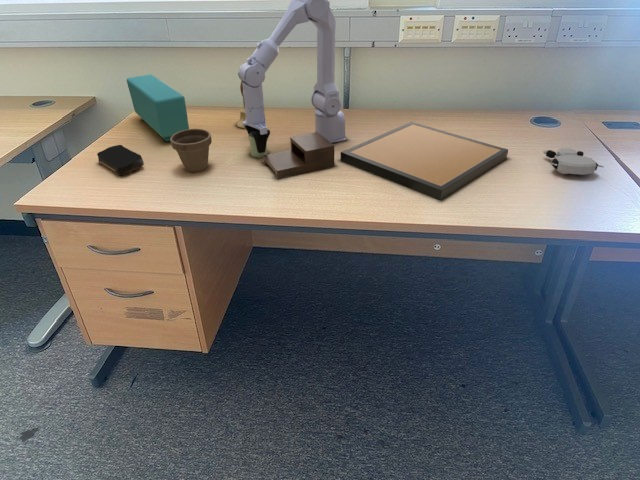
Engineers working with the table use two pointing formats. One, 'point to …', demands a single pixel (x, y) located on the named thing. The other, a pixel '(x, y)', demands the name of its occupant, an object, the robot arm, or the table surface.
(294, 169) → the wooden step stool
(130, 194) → the table surface
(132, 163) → the black sponge
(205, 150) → the flower pot
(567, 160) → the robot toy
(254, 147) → the pencil cup
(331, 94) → the robot arm
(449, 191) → the cork board
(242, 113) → the hand bell
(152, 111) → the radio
